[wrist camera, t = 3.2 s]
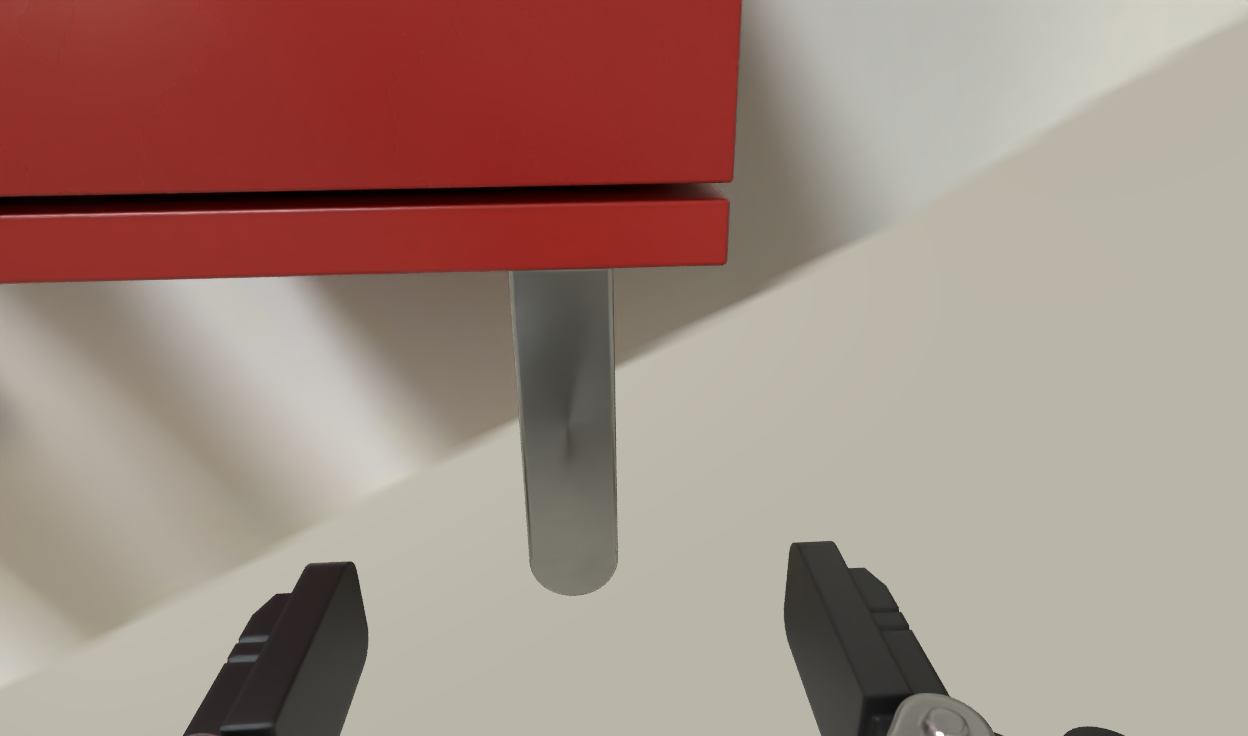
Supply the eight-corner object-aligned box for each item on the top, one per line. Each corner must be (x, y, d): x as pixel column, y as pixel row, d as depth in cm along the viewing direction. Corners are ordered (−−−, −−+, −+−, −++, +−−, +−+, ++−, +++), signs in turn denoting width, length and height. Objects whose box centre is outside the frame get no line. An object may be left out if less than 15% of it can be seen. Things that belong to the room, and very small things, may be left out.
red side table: (630, 272, 33) (711, 599, 13) (223, 283, 32) (-334, 652, 13) (629, 102, 30) (731, 199, 11) (182, 108, 30) (-627, 227, 10)
